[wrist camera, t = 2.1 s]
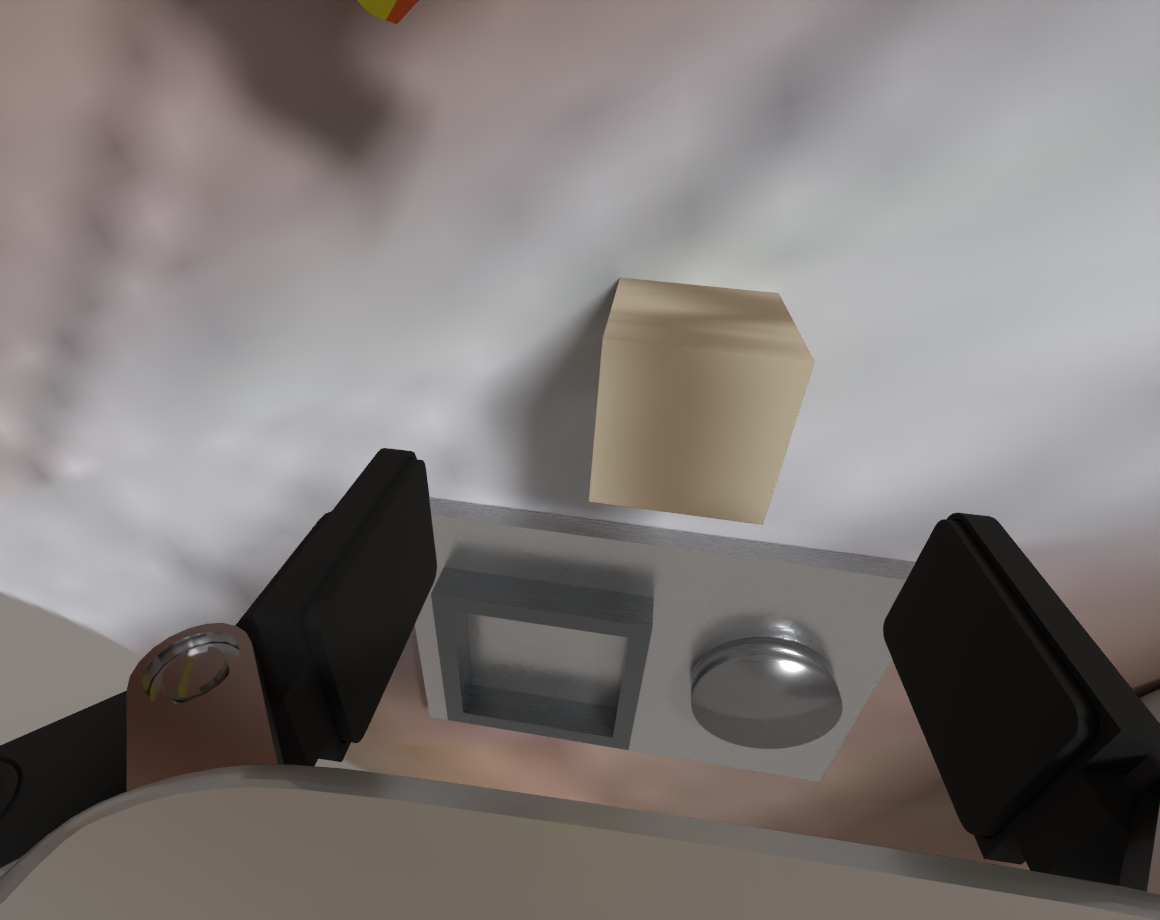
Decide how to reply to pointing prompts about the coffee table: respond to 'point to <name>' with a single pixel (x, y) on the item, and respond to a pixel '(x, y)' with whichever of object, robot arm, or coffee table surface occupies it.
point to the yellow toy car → (388, 8)
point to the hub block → (696, 399)
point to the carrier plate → (652, 637)
